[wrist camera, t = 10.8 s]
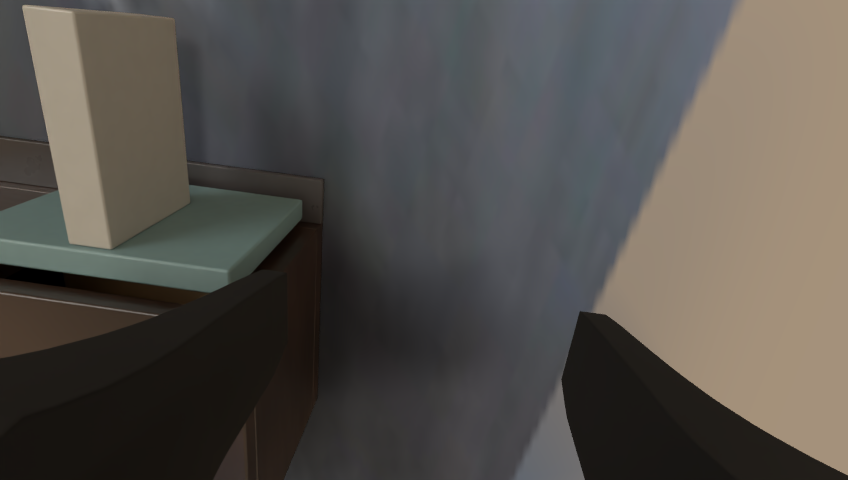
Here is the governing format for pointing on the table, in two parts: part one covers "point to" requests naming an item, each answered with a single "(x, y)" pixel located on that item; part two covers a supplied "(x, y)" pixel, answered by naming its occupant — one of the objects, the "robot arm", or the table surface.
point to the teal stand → (128, 165)
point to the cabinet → (177, 301)
